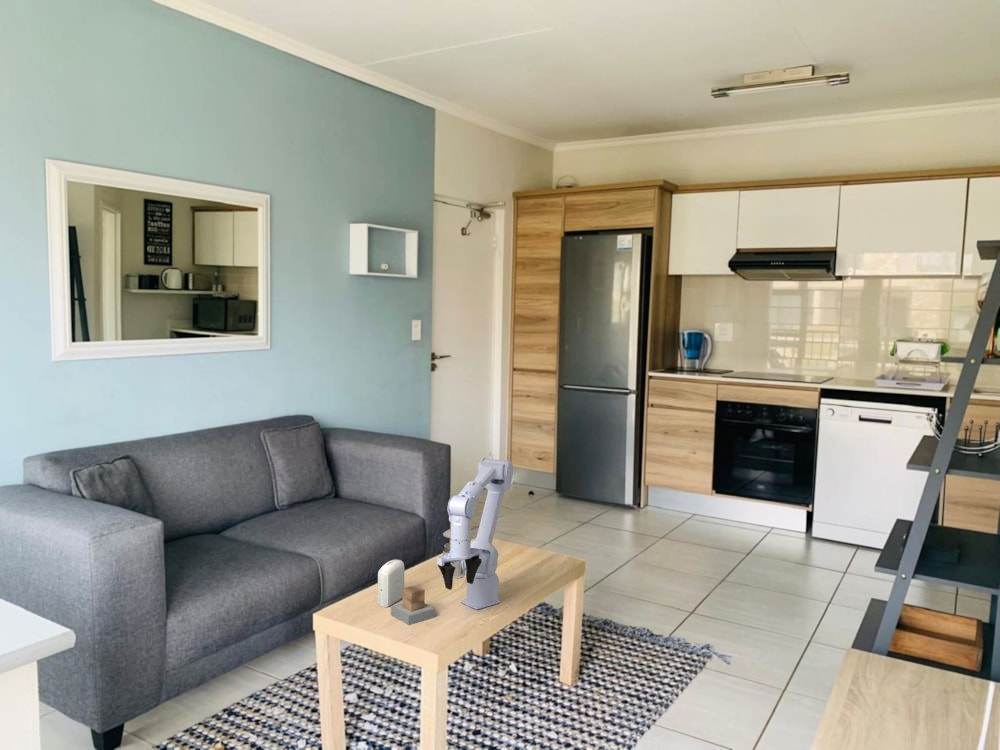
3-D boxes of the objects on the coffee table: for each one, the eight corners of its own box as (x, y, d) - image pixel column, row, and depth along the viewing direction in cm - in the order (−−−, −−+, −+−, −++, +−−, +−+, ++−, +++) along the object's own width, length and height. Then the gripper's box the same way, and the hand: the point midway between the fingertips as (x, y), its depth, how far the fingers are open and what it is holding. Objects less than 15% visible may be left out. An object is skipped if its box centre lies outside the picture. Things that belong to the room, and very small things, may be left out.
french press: (455, 567, 255) (456, 495, 253) (478, 575, 247) (480, 501, 245) (433, 573, 248) (434, 500, 246) (456, 582, 240) (458, 506, 238)
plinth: (416, 607, 219) (417, 599, 219) (434, 617, 212) (435, 608, 212) (390, 614, 213) (391, 606, 213) (408, 625, 206) (408, 616, 206)
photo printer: (387, 608, 217) (388, 567, 216) (375, 606, 219) (375, 565, 218) (406, 597, 227) (406, 557, 226) (394, 594, 228) (394, 555, 227)
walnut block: (415, 603, 215) (415, 584, 215) (424, 608, 212) (424, 589, 211) (402, 606, 212) (402, 588, 212) (411, 611, 209) (411, 592, 208)
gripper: (471, 531, 217) (470, 576, 218) (431, 539, 207) (430, 587, 208) (487, 536, 211) (485, 583, 212) (446, 545, 202) (445, 594, 203)
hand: (459, 585), depth 210 cm, fingers open, 7 cm apart
